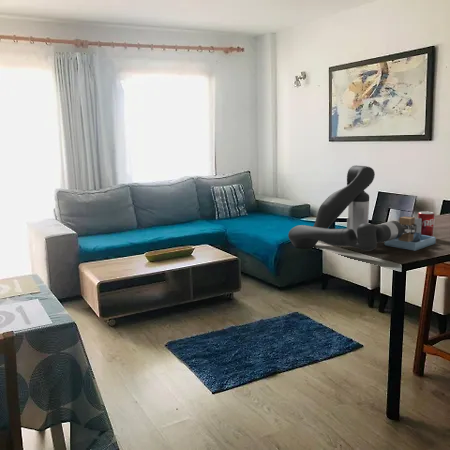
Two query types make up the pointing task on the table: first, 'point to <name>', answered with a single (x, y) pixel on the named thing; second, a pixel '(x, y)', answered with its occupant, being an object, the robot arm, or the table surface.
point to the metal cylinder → (417, 230)
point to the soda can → (427, 223)
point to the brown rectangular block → (409, 221)
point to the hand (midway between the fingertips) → (409, 225)
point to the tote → (412, 243)
